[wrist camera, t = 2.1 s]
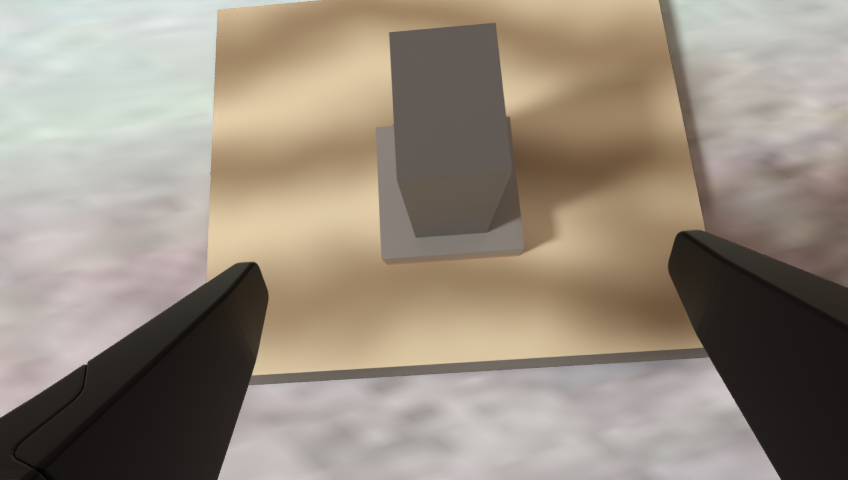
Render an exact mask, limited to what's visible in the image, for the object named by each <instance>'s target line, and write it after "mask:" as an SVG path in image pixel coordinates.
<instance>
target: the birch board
mask: <svg viewBox="0 0 848 480" xmlns="http://www.w3.org/2000/svg"><path fill="white" fill-rule="evenodd" d="M486 23H496V29H497V38H498V47H499V56H500V65H501V74H502V83H503V92H504V101H505V110H506V117H508V116H510V123H511V132H512V141H513V149H514V158H515V167H516V176H517V185H518V194H519V203H520V211H521V220H522V229H523V238H524V247H525V249H524V250H523V251H522V252H521V253H520V254H519V255H518V256H512V257H497V258H483V259H469V260H455V261H440V262H426V263H412V264H397V265H386V264H385V262H384V261H383V260H382V259H381V239H380V216H379V193H378V170H377V146H376V127H386V126H394V117H393V98H392V79H391V60H390V41H389V32H397V31H408V30H419V29H430V28H442V27H453V26H464V25H475V24H486ZM686 230H702V231H705V226H704V221H703V216H702V211H701V206H700V202H699V197H698V192H697V187H696V182H695V177H694V172H693V167H692V162H691V157H690V152H689V147H688V142H687V137H686V132H685V128H684V123H683V118H682V113H681V108H680V103H679V98H678V93H677V88H676V83H675V78H674V73H673V68H672V63H671V58H670V54H669V49H668V44H667V39H666V34H665V29H664V24H663V19H662V14H661V9H660V4H659V0H319V1H308V2H297V3H286V4H276V5H265V6H254V7H243V8H232V9H222V10H218V14H217V39H216V63H215V87H214V112H213V136H212V160H211V184H210V209H209V233H208V257H207V281H206V283H207V282H208V281H210V280H211V279H213V278H214V277H216V276H217V275H219V274H220V273H222V272H223V271H225V270H226V269H228V268H229V267H231V266H232V265H234V264H236V263H238V262H256V263H257V264H258V265H259V267H260V270H261V273H262V275H263V278H264V281H265V284H266V286H267V289H268V294H269V300H268V306H267V311H266V316H265V321H264V326H263V331H262V336H261V341H260V346H259V351H258V355H257V359H256V363H255V366H254V370H253V373H252V376H251V379H250V382H249V385H261V384H277V383H293V382H310V381H326V380H343V379H359V378H376V377H392V376H409V375H425V374H442V373H458V372H475V371H491V370H508V369H524V368H541V367H557V366H574V365H590V364H607V363H623V362H640V361H656V360H672V359H689V358H705V357H709V356H708V354H707V353H706V351H705V349H704V347H703V346H702V344H701V342H700V340H699V339H698V337H697V335H696V333H695V331H694V329H693V327H692V325H691V323H690V320H689V318H688V316H687V314H686V311H685V309H684V307H683V305H682V302H681V300H680V298H679V295H678V293H677V291H676V289H675V286H674V284H673V282H672V280H671V277H670V275H669V272H668V261H669V257H670V254H671V250H672V247H673V243H674V240H675V237H676V235H677V234H678V233H679V232H680V231H686ZM705 232H706V231H705Z"/></svg>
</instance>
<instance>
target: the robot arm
mask: <svg viewBox="0 0 848 480" xmlns="http://www.w3.org/2000/svg"><path fill="white" fill-rule="evenodd" d="M668 272H669V275H670V277H671V280H672V282H673V284H674V286H675V289H676V291H677V293H678V295H679V298H680V300H681V302H682V305H683V307H684V309H685V311H686V314H687V316H688V318H689V320H690V323H691V325H692V327H693V329H694V331H695V333H696V335H697V337H698V339H699V340H700V342H701V344H702V346H703V347H704V349H705V351H706V353H707V354H708V356H709V358H710V359H711V361H712V363H713V364H714V366H715V368H716V370H717V371H718V373H719V375H720V376H721V378H722V380H723V382H724V383H725V385H726V387H727V388H728V390H729V392H730V393H731V395H732V397H733V399H734V400H735V402H736V404H737V405H738V407H739V409H740V411H741V412H742V414H743V416H744V417H745V419H746V421H747V422H748V424H749V426H750V428H751V429H752V431H753V433H754V434H755V436H756V438H757V440H758V441H759V443H760V445H761V446H762V448H763V450H764V451H765V453H766V455H767V457H768V458H769V460H770V462H771V463H772V465H773V467H774V469H775V470H776V472H777V474H778V475H779V477H780V479H781V480H848V288H847V287H844V286H842V285H839V284H837V283H834V282H832V281H829V280H826V279H824V278H821V277H819V276H816V275H814V274H811V273H809V272H806V271H804V270H801V269H799V268H796V267H794V266H791V265H789V264H786V263H783V262H781V261H778V260H776V259H773V258H771V257H768V256H766V255H763V254H761V253H758V252H756V251H753V250H751V249H748V248H746V247H743V246H740V245H738V244H735V243H733V242H730V241H728V240H725V239H723V238H720V237H718V236H715V235H713V234H710V233H708V232H705V231H702V230H686V231H680V232H679V233H678V234H677V235H676V237H675V240H674V243H673V247H672V250H671V254H670V257H669V261H668ZM268 300H269V294H268V289H267V286H266V284H265V281H264V278H263V275H262V273H261V270H260V267H259V265H258V264H257V263H256V262H238V263H236V264H234V265H232V266H231V267H229V268H228V269H226V270H225V271H223V272H222V273H220V274H219V275H217V276H216V277H214V278H213V279H211V280H210V281H208V282H207V283H205V284H204V285H202V286H201V287H199V288H198V289H196V290H195V291H193V292H192V293H190V294H189V295H187V296H186V297H184V298H183V299H181V300H180V301H178V302H177V303H175V304H174V305H172V306H171V307H169V308H168V309H166V310H165V311H163V312H162V313H160V314H159V315H157V316H156V317H154V318H153V319H151V320H150V321H148V322H147V323H145V324H144V325H142V326H141V327H139V328H138V329H136V330H135V331H133V332H132V333H130V334H129V335H127V336H126V337H124V338H123V339H121V340H120V341H118V342H117V343H115V344H114V345H112V346H111V347H109V348H108V349H106V350H105V351H103V352H102V353H100V354H99V355H97V356H96V357H94V358H93V359H91V360H90V361H88V363H87V365H82V366H81V367H79V368H78V369H76V370H75V371H73V372H72V373H70V374H69V375H67V376H66V377H64V378H63V379H61V380H60V381H58V382H57V383H55V384H53V385H52V386H50V387H49V388H47V389H46V390H44V391H43V392H41V393H40V394H38V395H36V396H35V397H33V398H32V399H30V400H28V401H27V402H25V403H24V404H22V405H20V406H19V407H17V408H15V409H14V410H12V411H11V412H9V413H7V414H6V415H4V416H2V417H1V418H0V480H217V479H218V476H219V473H220V470H221V467H222V464H223V461H224V458H225V455H226V452H227V449H228V446H229V443H230V440H231V437H232V434H233V431H234V428H235V425H236V422H237V419H238V415H239V412H240V409H241V406H242V403H243V400H244V397H245V394H246V391H247V388H248V385H249V382H250V379H251V376H252V373H253V370H254V366H255V363H256V359H257V355H258V351H259V346H260V341H261V336H262V331H263V326H264V321H265V316H266V311H267V306H268Z"/></svg>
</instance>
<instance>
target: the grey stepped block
mask: <svg viewBox="0 0 848 480" xmlns="http://www.w3.org/2000/svg"><path fill="white" fill-rule="evenodd" d="M389 41H390V60H391V79H392V98H393V117H394V126H386V127H376V146H377V170H378V193H379V216H380V239H381V259H382V260H383V261H384V262H385V264H386V265H397V264H412V263H426V262H440V261H455V260H469V259H483V258H497V257H512V256H518V255H519V254H520V253H521V252H522V251H523V250H524V249H525V247H524V238H523V229H522V220H521V211H520V203H519V194H518V185H517V176H516V167H515V158H514V149H513V141H512V132H511V123H510V116H508V117H506V110H505V101H504V92H503V83H502V74H501V65H500V56H499V47H498V38H497V29H496V23H486V24H475V25H464V26H453V27H442V28H430V29H419V30H408V31H397V32H389Z"/></svg>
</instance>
